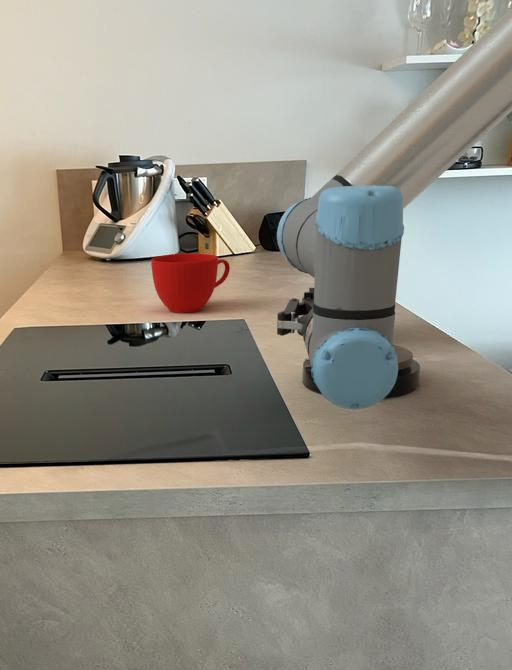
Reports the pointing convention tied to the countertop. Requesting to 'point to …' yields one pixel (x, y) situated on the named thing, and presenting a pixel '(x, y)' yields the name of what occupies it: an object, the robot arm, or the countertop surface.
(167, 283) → the ceramic cup
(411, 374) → the disc
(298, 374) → the countertop surface
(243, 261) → the countertop surface
